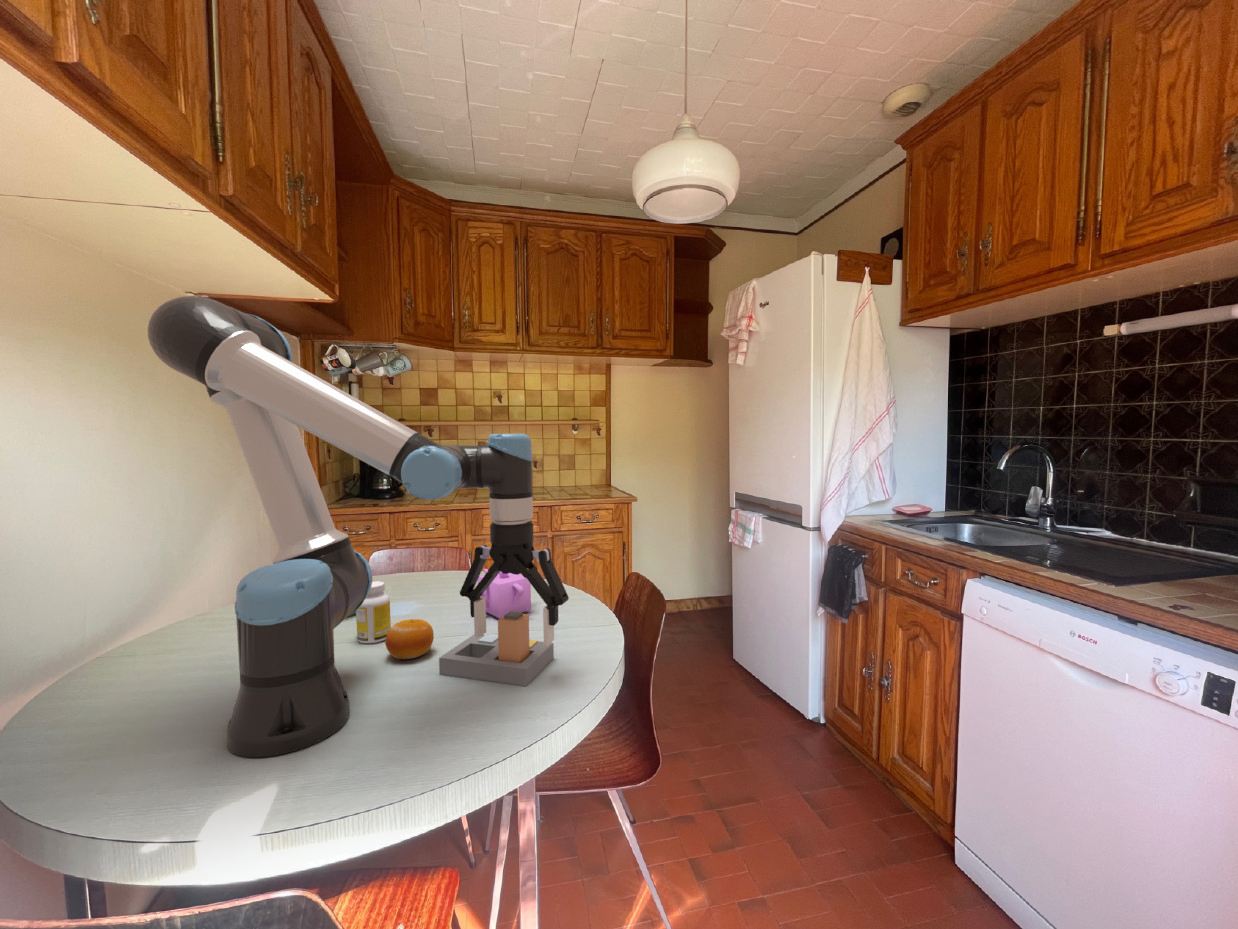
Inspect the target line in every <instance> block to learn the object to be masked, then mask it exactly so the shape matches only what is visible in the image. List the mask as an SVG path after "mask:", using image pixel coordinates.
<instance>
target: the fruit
mask: <svg viewBox="0 0 1238 929" xmlns="http://www.w3.org/2000/svg"><path fill="white" fill-rule="evenodd" d="M434 637H435V634H434V629H433V627H432V625H431V624H430V623H429V622H428V621H426V620H424V619H421V618H420V619H419V618H415V619H412V618H411V619H405V620H404V619H403V620H401V621H399V622H396V623H395V624H393V625H391V628H390V630H389V631H388V633H387V636H386V639H385V640H384V641H385V647H386V650H387V651H388V652H389V654H390V655H392V656H393V658H396V659H398V660H411V659H416V658H418V657H421V656H423V655H425V654H426V653H427V652H428V650H429V649H431V646H432V645H433V642H434V639H435V638H434Z"/></svg>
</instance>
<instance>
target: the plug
mask: <svg viewBox="0 0 1238 929" xmlns="http://www.w3.org/2000/svg"><path fill="white" fill-rule="evenodd" d="M497 636H498V649H499V661H507V662H515V663H522V662H523V661H524V660H525V659H526V658H528V657H529V656H530V653H529V640H530V614H528V613H523V612H515V611H510V612H509V613H507V614H506V615H504V616H503V617H501V618H497Z"/></svg>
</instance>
